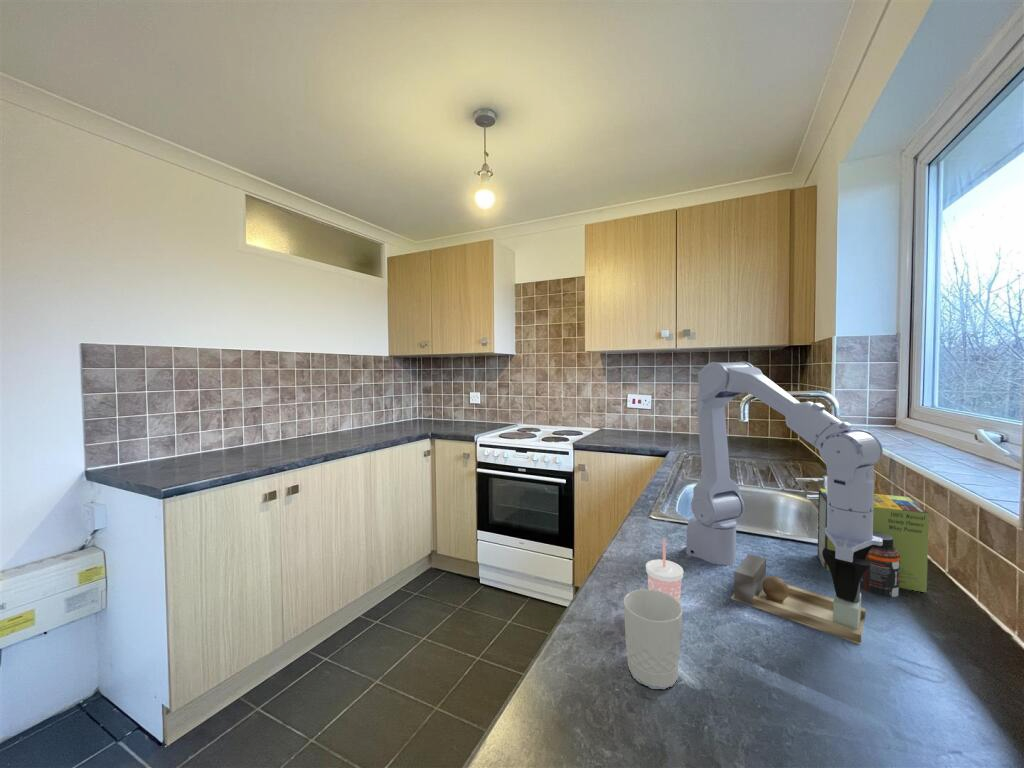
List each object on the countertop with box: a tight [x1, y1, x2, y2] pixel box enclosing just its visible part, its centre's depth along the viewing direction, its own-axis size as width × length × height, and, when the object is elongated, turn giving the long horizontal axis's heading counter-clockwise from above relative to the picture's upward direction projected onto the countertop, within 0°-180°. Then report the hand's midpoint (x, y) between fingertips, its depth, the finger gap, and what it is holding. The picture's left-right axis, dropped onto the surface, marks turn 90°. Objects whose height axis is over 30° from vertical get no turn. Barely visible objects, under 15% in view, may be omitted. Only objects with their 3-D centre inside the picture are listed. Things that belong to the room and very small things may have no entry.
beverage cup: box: [645, 538, 684, 604], centre depth 70 cm, size 6×6×14 cm
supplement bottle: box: [860, 531, 900, 598], centre depth 76 cm, size 6×6×11 cm
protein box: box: [817, 488, 930, 592], centre depth 84 cm, size 10×15×16 cm
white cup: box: [623, 588, 683, 687], centre depth 58 cm, size 8×8×10 cm
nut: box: [762, 575, 789, 604], centre depth 73 cm, size 4×4×4 cm
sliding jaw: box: [833, 583, 862, 630], centre depth 66 cm, size 3×6×8 cm, turn 136°
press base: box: [730, 553, 867, 645], centre depth 71 cm, size 18×10×6 cm, turn 46°
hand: (848, 588), depth 66 cm, fingers open, 7 cm apart
